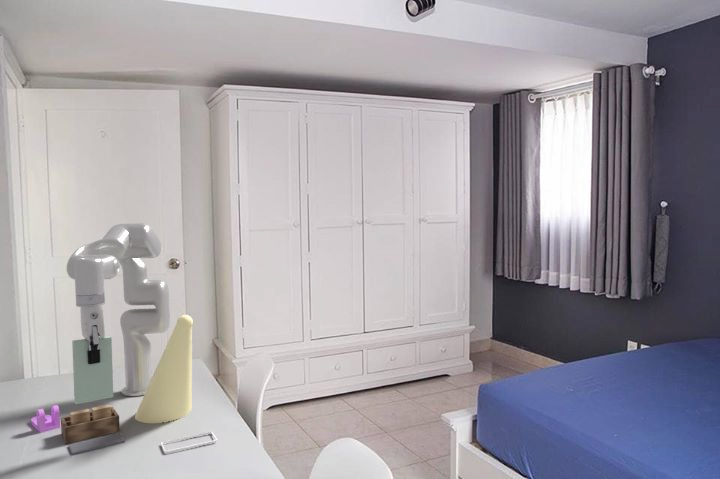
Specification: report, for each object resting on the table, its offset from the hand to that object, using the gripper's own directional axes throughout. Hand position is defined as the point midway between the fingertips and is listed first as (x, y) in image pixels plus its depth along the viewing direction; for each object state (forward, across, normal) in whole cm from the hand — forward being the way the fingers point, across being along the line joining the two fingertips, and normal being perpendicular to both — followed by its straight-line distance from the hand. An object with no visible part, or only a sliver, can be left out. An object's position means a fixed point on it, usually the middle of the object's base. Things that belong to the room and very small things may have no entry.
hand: (93, 361), depth 158 cm
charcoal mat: (+25, 0, 0) cm, 25 cm away
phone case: (+26, -16, -22) cm, 38 cm away
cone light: (+25, +10, -24) cm, 36 cm away
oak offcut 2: (+25, +9, -3) cm, 27 cm away
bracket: (+25, +27, +11) cm, 39 cm away
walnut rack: (+25, +11, 0) cm, 27 cm away
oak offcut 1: (+25, +9, +3) cm, 27 cm away
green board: (+11, 0, 0) cm, 11 cm away
